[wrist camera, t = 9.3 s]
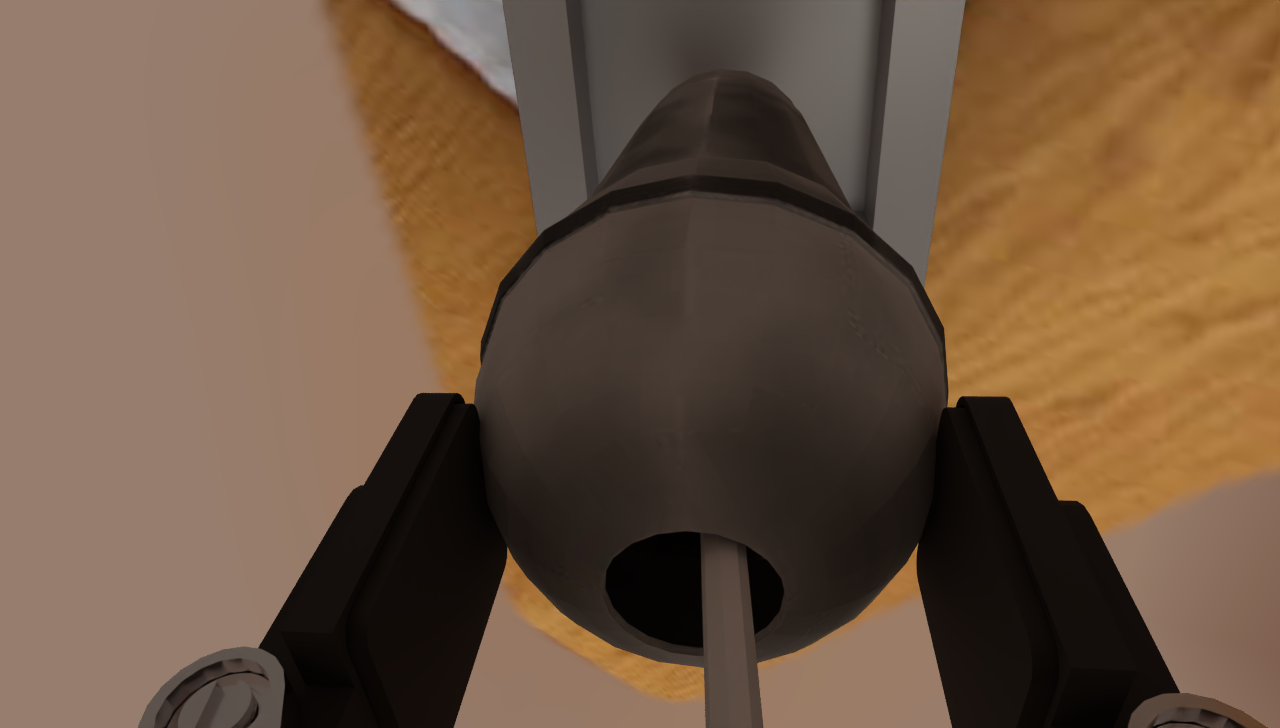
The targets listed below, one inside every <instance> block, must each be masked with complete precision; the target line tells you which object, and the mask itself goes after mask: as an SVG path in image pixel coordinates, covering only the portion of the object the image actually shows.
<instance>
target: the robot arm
mask: <svg viewBox="0 0 1280 728" xmlns="http://www.w3.org/2000/svg"><path fill="white" fill-rule="evenodd" d="M479 437H480V419H479V415H478V411H477V408H476V406H475V405H474V404H465V401H464V399H463V397H462V396H461V395H460V394H458V393H420V394H417V395H416V397H415V398H414V399H413V401H412V403H411V404H410V406H409V408H408V410H407V411H406V413H405V415H404V417H403V418H402V420H401V422H400V423H399V425H398V427H397V429H396V430H395V432H394V434H393V436H392V437H391V439H390V441H389V443H388V444H387V446H386V448H385V450H384V451H383V453H382V455H381V457H380V458H379V460H378V462H377V463H376V465H375V467H374V469H373V470H372V472H371V474H370V476H369V477H368V479H367V481H366V482H365V484H364V485H361V486H359V487H357V488H355V489H353V491H352V492H351V493H350V495H349V496H348V497H347V499H346V500H345V502H344V504H343V505H342V507H341V509H340V510H339V512H338V514H337V516H336V518H335V519H334V521H333V522H332V524H331V526H330V527H329V529H328V531H327V532H326V534H325V536H324V537H323V540H322V541H321V543H320V544H319V546H318V548H317V550H316V551H315V553H314V555H313V556H312V558H311V559H310V561H309V563H308V565H307V566H306V568H305V570H304V571H303V573H302V575H301V577H300V578H299V580H298V581H297V583H296V585H295V587H294V588H293V590H292V592H291V593H290V595H289V597H288V598H287V600H286V602H285V603H284V605H283V607H282V609H281V610H280V612H279V614H278V615H277V617H276V619H275V621H274V622H273V624H272V626H271V627H270V629H269V631H268V632H267V634H266V636H265V637H264V639H263V641H262V642H261V644H260V646H259V648H250V647H238V648H231V649H224V650H221V651H218V652H216V653H213V654H210V655H207V656H205V657H202V658H200V659H198V660H197V661H195V662H194V663H192V664H190V665H188V666H187V667H185V668H183V669H182V670H180V671H179V672H178V673H177V674H176V675H175V676H173V677H172V678H171V679H170V680H169V681H168V682H166V683H165V684H164V685H163V686H162V687H161V688H160V690H159V691H158V692H157V693H156V695H155V696H154V697H153V699H152V700H151V701H150V703H149V704H148V705H147V707H146V710H145V712H144V714H143V716H142V719H141V721H140V723H139V726H138V728H454V725H455V721H456V718H457V715H458V712H459V709H460V706H461V703H462V700H463V696H464V693H465V690H466V687H467V684H468V681H469V678H470V675H471V671H472V669H473V665H474V662H475V659H476V656H477V653H478V650H479V647H480V644H481V640H482V637H483V634H484V631H485V628H486V625H487V622H488V619H489V616H490V612H491V609H492V606H493V603H494V600H495V597H496V594H497V591H498V588H499V584H500V581H501V578H502V575H503V572H504V569H505V565H506V560H507V544H506V542H505V540H504V538H503V536H502V534H501V532H500V530H499V528H498V526H497V524H496V522H495V520H494V517H493V515H492V513H491V511H490V508H489V506H488V503H487V496H486V488H485V480H484V472H483V464H482V456H481V448H480V441H479ZM917 577H918V582H919V587H920V591H921V595H922V600H923V604H924V608H925V613H926V617H927V621H928V625H929V630H930V634H931V638H932V643H933V647H934V651H935V655H936V660H937V664H938V668H939V673H940V677H941V681H942V686H943V690H944V694H945V699H946V702H947V707H948V711H949V715H950V720H951V724H952V728H1268V727H1266V726H1265V725H1263V724H1261V723H1260V722H1258V721H1257V720H1255V719H1254V718H1252V717H1251V716H1249V715H1248V714H1246V713H1244V712H1243V711H1241V710H1239V709H1236V708H1234V707H1232V706H1229V705H1227V704H1225V703H1222V702H1220V701H1218V700H1215V699H1212V698H1207V697H1203V696H1198V695H1193V694H1189V693H1180V691H1179V689H1178V688H1177V686H1176V684H1175V682H1174V680H1173V678H1172V676H1171V674H1170V672H1169V670H1168V668H1167V666H1166V664H1165V662H1164V660H1163V658H1162V656H1161V654H1160V652H1159V650H1158V648H1157V646H1156V644H1155V642H1154V640H1153V638H1152V636H1151V634H1150V632H1149V630H1148V628H1147V626H1146V624H1145V622H1144V620H1143V618H1142V616H1141V614H1140V612H1139V610H1138V609H1137V607H1136V605H1135V603H1134V601H1133V599H1132V597H1131V595H1130V593H1129V591H1128V589H1127V587H1126V585H1125V583H1124V581H1123V579H1122V577H1121V575H1120V573H1119V571H1118V569H1117V567H1116V565H1115V563H1114V561H1113V559H1112V557H1111V555H1110V553H1109V551H1108V549H1107V547H1106V546H1105V543H1104V541H1103V539H1102V537H1101V535H1100V533H1099V531H1098V529H1097V527H1096V526H1095V524H1094V522H1093V520H1092V518H1091V516H1090V514H1089V513H1088V511H1087V510H1086V508H1085V507H1084V505H1082V504H1081V503H1079V502H1078V501H1058V499H1057V497H1056V495H1055V493H1054V491H1053V489H1052V486H1051V484H1050V482H1049V480H1048V478H1047V476H1046V474H1045V472H1044V469H1043V467H1042V465H1041V463H1040V461H1039V459H1038V457H1037V455H1036V452H1035V450H1034V448H1033V446H1032V444H1031V442H1030V440H1029V437H1028V435H1027V433H1026V431H1025V429H1024V427H1023V425H1022V423H1021V420H1020V418H1019V416H1018V414H1017V412H1016V410H1015V408H1014V406H1013V403H1012V402H1011V400H1010V399H1009V398H1007V397H977V396H962V397H960V398H959V400H958V402H957V405H956V408H950V407H945V408H943V410H942V413H941V417H940V422H939V428H938V434H937V441H936V462H935V477H934V492H933V499H932V503H931V506H930V509H929V513H928V516H927V519H926V523H925V526H924V530H923V533H922V536H921V539H920V541H919V544H918V550H917Z"/></svg>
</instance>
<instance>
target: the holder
mask: <svg viewBox="0 0 1280 728" xmlns="http://www.w3.org/2000/svg"><path fill="white" fill-rule="evenodd" d="M502 1H503V8H504V15H505V21H506V28H507V35H508V41H509V48H510V54H511V61H512V68H513V74H514V81H515V88H516V94H517V101H518V107H519V114H520V121H521V127H522V134H523V141H524V147H525V154H526V160H527V167H528V174H529V180H530V187H531V194H532V200H533V207H534V214H535V220H536V227H537V233H538V237H539V235H540V234H541V233H542V232H543V231H544V230H545V229H547V228H548V227H550V226H552V225H553V224H555V223H557V222H558V221H560V220H562V219H564V218H565V217H567V216H568V215H569V214H570V213H571V212H573V211H574V210H575V209H576V208H577V207H579V206H580V205H581V204H582V203H583V202H585V201H586V200H587V199H589V198H590V197H591V196H592V194H593V193H594V191H595V190H596V189H597V187H598V186H599V184H600V183H601V181H602V180H603V178H604V177H605V176H606V174H607V173H608V171H609V170H610V168H611V167H612V165H613V164H614V163H615V161H616V160H617V158H618V157H619V155H620V154H621V152H622V151H623V150H624V148H625V147H626V145H627V144H628V142H629V141H630V139H631V138H632V136H633V135H634V134H635V132H636V131H637V129H638V128H639V126H640V125H641V123H642V122H643V121H644V120H645V119H646V117H647V116H648V115H649V114H650V113H651V111H652V110H653V109H654V108H655V107H656V105H657V104H658V103H659V102H660V101H661V100H662V99H664V97H665V96H666V95H667V94H668V93H669V91H670V90H671V89H673V88H674V87H676V86H678V85H679V84H681V83H683V82H684V81H686V80H687V79H689V78H691V77H692V76H694V75H698V74H702V73H706V72H710V71H714V70H718V69H725V70H737V71H748V72H750V73H752V74H755V75H757V76H759V77H761V78H764V79H766V80H768V81H770V82H772V83H773V84H775V85H776V86H777V87H778V88H779V89H780V90H781V91H782V92H783V93H784V94H785V95H786V96H787V97H789V98H790V99H791V100H792V102H793V104H794V106H795V107H796V108H797V109H798V110H799V111H800V112H801V113H802V115H803V117H804V119H805V121H806V123H807V125H808V127H809V129H810V131H811V132H812V134H813V136H814V138H815V140H816V142H817V144H818V146H819V148H820V150H821V151H822V153H823V155H824V157H825V159H826V161H827V163H828V165H829V167H830V169H831V171H832V172H833V174H834V176H835V178H836V180H837V182H838V184H839V186H840V188H841V190H842V191H843V193H844V195H845V197H846V199H847V201H848V203H849V205H850V207H851V209H852V211H853V212H854V213H855V214H856V215H857V216H858V217H859V218H860V219H861V220H862V221H864V222H865V223H866V224H867V225H868V226H869V227H870V228H871V229H872V230H873V231H874V232H875V233H876V234H877V235H878V236H879V237H881V238H882V239H883V240H884V241H885V242H886V243H887V244H888V245H889V246H891V247H892V248H893V249H894V250H895V251H896V252H897V253H898V254H899V255H901V256H902V257H903V258H904V259H905V260H906V261H907V262H908V263H909V264H911V265H912V266H913V268H914V270H915V272H916V274H917V276H918V278H919V280H920V282H921V284H922V286H923V288H924V285H925V278H926V271H927V264H928V257H929V250H930V243H931V236H932V229H933V222H934V216H935V209H936V202H937V195H938V188H939V181H940V174H941V167H942V160H943V153H944V146H945V139H946V132H947V125H948V118H949V111H950V104H951V97H952V90H953V83H954V76H955V69H956V62H957V55H958V48H959V41H960V34H961V27H962V20H963V13H964V6H965V0H502Z"/></svg>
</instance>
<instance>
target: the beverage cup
mask: <svg viewBox="0 0 1280 728" xmlns="http://www.w3.org/2000/svg"><path fill="white" fill-rule="evenodd" d="M480 359H481V368H480V371H479V374H478V377H477V380H476V389H475V398H474V405H475V406H476V408H477V411H478V415H479V419H480V437H479V441H480V448H481V456H482V464H483V472H484V480H485V488H486V496H487V503H488V506H489V508H490V511H491V513H492V515H493V517H494V520H495V522H496V524H497V526H498V528H499V530H500V532H501V534H502V536H503V538H504V540H505V542H506V544H507V546H508V548H509V551H510V553H511V555H512V557H513V559H514V560H515V561H516V563H517V564H518V565H519V567H520V568H521V569H522V571H523V572H524V574H525V575H526V576H527V578H528V579H529V580H530V581H531V582H532V583H533V584H534V585H535V586H536V587H537V588H538V589H539V590H540V591H541V592H542V593H543V594H544V595H545V596H546V597H547V598H548V600H549V601H550V602H551V603H552V604H553V605H554V606H555V607H556V608H557V609H558V610H559V611H560V612H561V613H563V614H564V615H565V616H567V617H568V618H569V619H571V620H572V621H573V622H575V623H576V624H578V625H579V626H581V627H583V628H584V629H586V630H588V631H589V632H591V633H593V634H594V635H596V636H597V637H599V638H601V639H602V640H604V641H606V642H607V643H609V644H611V645H612V646H614V647H617V648H619V649H622V650H625V651H628V652H631V653H634V654H637V655H640V656H643V657H646V658H649V659H652V660H655V661H658V662H665V663H673V664H680V665H688V666H696V667H703V668H704V681H705V716H706V728H763V719H762V710H761V698H760V689H759V678H758V668H757V663H759V662H762V661H766V660H769V659H772V658H776V657H779V656H783V655H786V654H790V653H793V652H796V651H798V650H800V649H802V648H805V647H807V646H809V645H811V644H813V643H814V642H816V641H818V640H819V639H821V638H823V637H825V636H826V635H828V634H830V633H831V632H833V631H835V630H836V629H838V628H840V627H841V626H843V625H845V624H846V623H848V622H850V621H851V620H853V619H855V618H856V617H857V616H858V615H859V614H860V613H861V612H862V611H863V610H864V609H865V608H866V607H867V606H868V605H869V604H870V603H871V602H872V601H873V600H874V599H875V598H876V597H877V596H878V594H879V593H880V592H881V591H882V590H883V589H884V588H885V587H886V585H887V584H888V583H889V582H890V581H891V580H892V579H893V577H894V576H895V575H896V574H897V573H898V572H899V571H900V570H901V568H902V567H903V566H904V565H905V564H906V563H907V561H908V559H909V558H910V556H911V554H912V553H913V551H914V549H915V547H916V546H917V544H918V542H919V541H920V539H921V536H922V533H923V530H924V526H925V523H926V519H927V516H928V513H929V509H930V506H931V503H932V499H933V492H934V477H935V462H936V441H937V434H938V428H939V422H940V417H941V413H942V410H943V408H945V407H947V404H948V378H947V364H946V350H945V335H944V327H943V325H942V323H941V321H940V319H939V317H938V316H937V314H936V312H935V310H934V308H933V306H932V304H931V302H930V300H929V298H928V296H927V294H926V292H925V290H924V288H923V286H922V284H921V282H920V280H919V278H918V276H917V274H916V272H915V270H914V268H913V266H912V265H911V264H909V263H908V262H907V261H906V260H905V259H904V258H903V257H902V256H901V255H899V254H898V253H897V252H896V251H895V250H894V249H893V248H892V247H891V246H889V245H888V244H887V243H886V242H885V241H884V240H883V239H882V238H881V237H879V236H878V235H877V234H876V233H875V232H874V231H873V230H872V229H871V228H870V227H869V226H868V225H867V224H866V223H865V222H864V221H862V220H861V219H860V218H859V217H858V216H857V215H856V214H855V213H854V212H853V211H852V209H851V207H850V205H849V203H848V201H847V199H846V197H845V195H844V193H843V191H842V190H841V188H840V186H839V184H838V182H837V180H836V178H835V176H834V174H833V172H832V171H831V169H830V167H829V165H828V163H827V161H826V159H825V157H824V155H823V153H822V151H821V150H820V148H819V146H818V144H817V142H816V140H815V138H814V136H813V134H812V132H811V131H810V129H809V127H808V125H807V123H806V121H805V119H804V117H803V115H802V113H801V112H800V111H799V110H798V109H797V108H796V107H795V106H794V104H793V102H792V100H791V99H790V98H789V97H787V96H786V95H785V94H784V93H783V92H782V91H781V90H780V89H779V88H778V87H777V86H776V85H775V84H773V83H772V82H770V81H768V80H766V79H764V78H761V77H759V76H757V75H755V74H752V73H750V72H748V71H737V70H725V69H718V70H714V71H710V72H706V73H702V74H698V75H694V76H692V77H691V78H689V79H687V80H686V81H684V82H683V83H681V84H679V85H678V86H676V87H674V88H673V89H671V90H670V91H669V93H668V94H667V95H666V96H665V97H664V99H662V100H661V101H660V102H659V103H658V104H657V105H656V107H655V108H654V109H653V110H652V111H651V113H650V114H649V115H648V116H647V117H646V119H645V120H644V121H643V122H642V123H641V125H640V126H639V128H638V129H637V131H636V132H635V134H634V135H633V136H632V138H631V139H630V141H629V142H628V144H627V145H626V147H625V148H624V150H623V151H622V152H621V154H620V155H619V157H618V158H617V160H616V161H615V163H614V164H613V165H612V167H611V168H610V170H609V171H608V173H607V174H606V176H605V177H604V178H603V180H602V181H601V183H600V184H599V186H598V187H597V189H596V190H595V191H594V193H593V194H592V196H591V197H590V198H589V199H587V200H586V201H585V202H583V203H582V204H581V205H580V206H579V207H577V208H576V209H575V210H574V211H573V212H571V213H570V214H569V215H568V216H567V217H565V218H564V219H562V220H560V221H558V222H557V223H555V224H553V225H552V226H550V227H548V228H547V229H545V230H544V231H543V232H542V233H541V234H540V235H539V237H538V238H537V239H536V240H535V241H534V243H533V244H532V245H531V246H530V247H529V249H528V250H527V251H526V252H525V253H524V255H523V256H522V257H521V258H520V260H519V261H518V262H517V263H516V264H515V266H514V267H513V268H512V269H511V270H510V272H509V273H508V274H507V275H506V276H505V278H504V279H503V280H502V281H501V282H500V285H499V288H498V291H497V294H496V297H495V301H494V304H493V307H492V310H491V313H490V316H489V319H488V322H487V325H486V328H485V331H484V334H483V337H482V341H481V352H480Z"/></svg>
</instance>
